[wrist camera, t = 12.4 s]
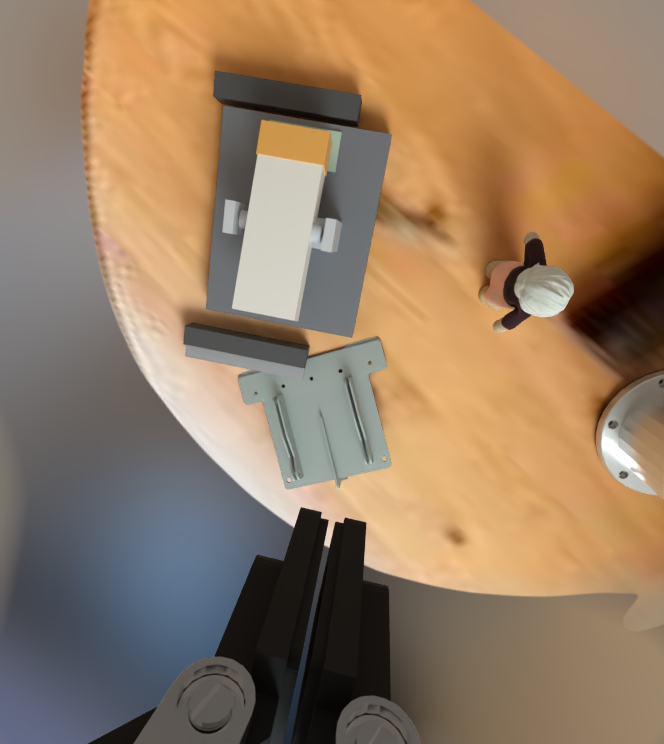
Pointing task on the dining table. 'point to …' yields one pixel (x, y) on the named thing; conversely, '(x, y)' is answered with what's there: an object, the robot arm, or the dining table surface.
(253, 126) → the panel
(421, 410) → the dining table surface
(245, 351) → the pair of grey rails
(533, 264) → the grandmother figurine
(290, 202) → the rocker lever
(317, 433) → the metal bracket
